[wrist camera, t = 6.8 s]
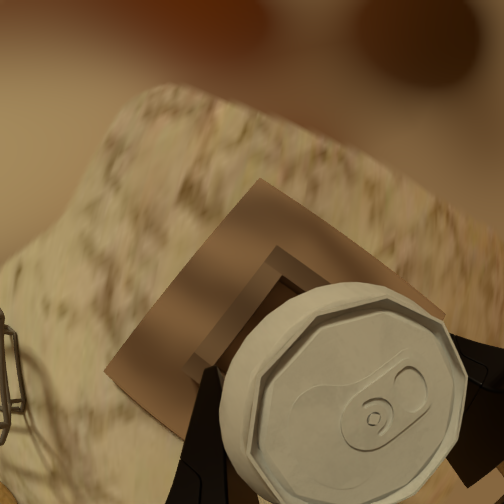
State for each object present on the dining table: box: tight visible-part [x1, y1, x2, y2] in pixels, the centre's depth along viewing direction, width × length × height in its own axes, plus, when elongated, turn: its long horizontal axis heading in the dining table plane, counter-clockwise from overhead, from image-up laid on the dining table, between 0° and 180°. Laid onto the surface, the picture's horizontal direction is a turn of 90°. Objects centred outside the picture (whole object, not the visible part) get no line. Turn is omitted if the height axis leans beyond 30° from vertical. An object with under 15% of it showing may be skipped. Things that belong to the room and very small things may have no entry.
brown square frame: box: [104, 178, 446, 440], centre depth 20 cm, size 20×20×3 cm
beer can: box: [219, 282, 468, 504], centre depth 9 cm, size 5×5×12 cm
